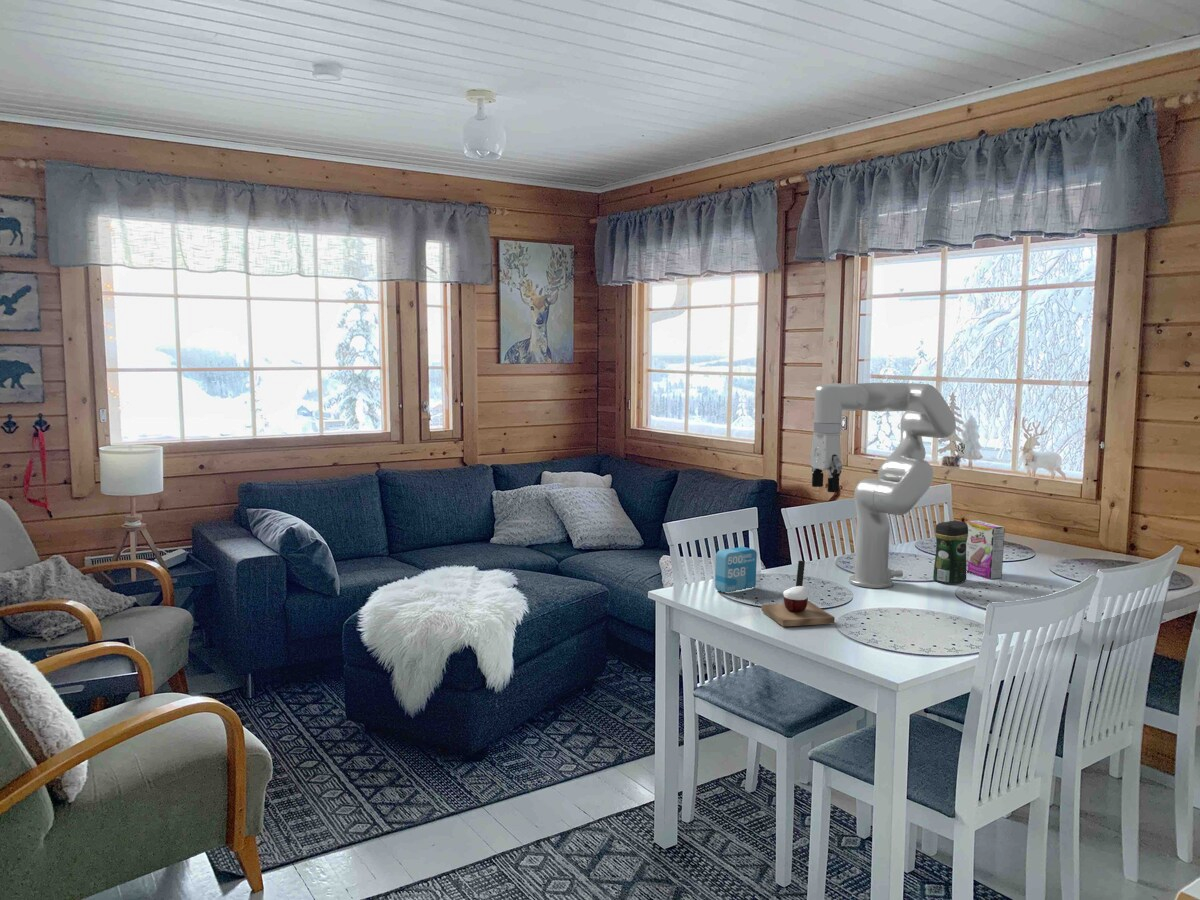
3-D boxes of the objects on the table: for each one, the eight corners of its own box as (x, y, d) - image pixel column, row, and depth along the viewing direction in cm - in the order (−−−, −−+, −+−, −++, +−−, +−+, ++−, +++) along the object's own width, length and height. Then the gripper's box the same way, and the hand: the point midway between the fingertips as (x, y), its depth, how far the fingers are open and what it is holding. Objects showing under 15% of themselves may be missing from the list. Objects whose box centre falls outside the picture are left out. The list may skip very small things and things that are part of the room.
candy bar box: (963, 571, 286) (966, 520, 285) (975, 570, 288) (978, 519, 286) (990, 580, 276) (993, 527, 274) (1002, 578, 278) (1005, 526, 276)
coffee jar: (947, 576, 280) (950, 517, 278) (970, 582, 273) (973, 521, 271) (927, 580, 275) (930, 520, 273) (950, 586, 268) (953, 525, 266)
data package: (724, 595, 256) (725, 553, 255) (714, 591, 260) (715, 550, 259) (756, 589, 263) (757, 548, 262) (745, 585, 267) (746, 545, 265)
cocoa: (795, 617, 230) (796, 572, 228) (775, 610, 235) (777, 566, 233) (817, 608, 236) (819, 564, 234) (797, 602, 241) (799, 559, 239)
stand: (810, 609, 243) (810, 602, 243) (834, 624, 229) (834, 617, 229) (761, 612, 240) (761, 604, 240) (782, 628, 226) (783, 620, 226)
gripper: (801, 426, 261) (799, 485, 263) (829, 432, 244) (826, 494, 246) (825, 426, 263) (823, 484, 265) (854, 431, 246) (852, 493, 248)
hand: (825, 489), depth 255 cm, fingers open, 9 cm apart
